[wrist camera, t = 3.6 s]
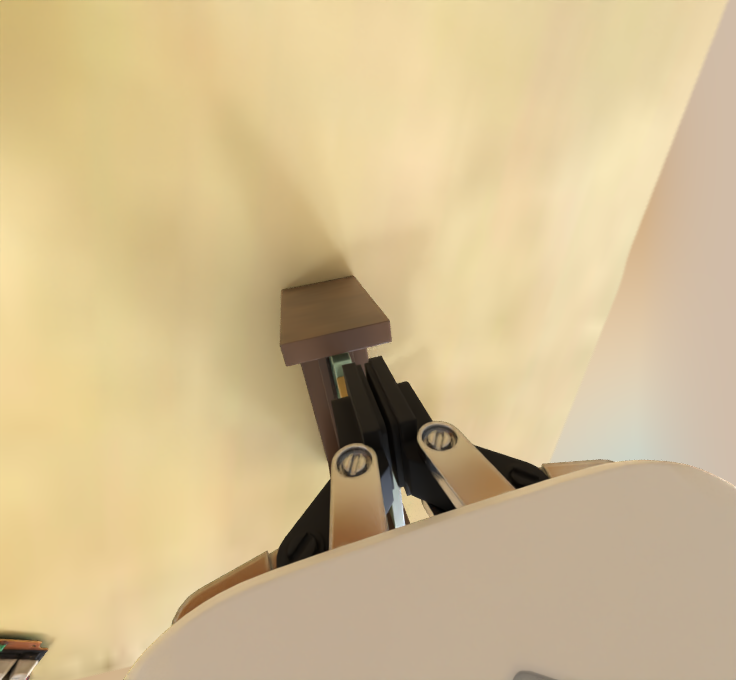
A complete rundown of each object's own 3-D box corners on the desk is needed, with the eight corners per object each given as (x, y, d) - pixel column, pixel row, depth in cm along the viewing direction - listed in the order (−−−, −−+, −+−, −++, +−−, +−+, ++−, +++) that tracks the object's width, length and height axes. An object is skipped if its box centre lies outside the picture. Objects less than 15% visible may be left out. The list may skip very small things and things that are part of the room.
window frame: (329, 463, 39) (344, 557, 29) (281, 289, 28) (279, 345, 18) (380, 448, 41) (411, 534, 30) (353, 275, 29) (390, 320, 19)
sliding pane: (336, 391, 33) (363, 497, 21) (318, 309, 28) (340, 390, 17) (346, 388, 33) (379, 492, 22) (330, 307, 28) (361, 385, 17)
